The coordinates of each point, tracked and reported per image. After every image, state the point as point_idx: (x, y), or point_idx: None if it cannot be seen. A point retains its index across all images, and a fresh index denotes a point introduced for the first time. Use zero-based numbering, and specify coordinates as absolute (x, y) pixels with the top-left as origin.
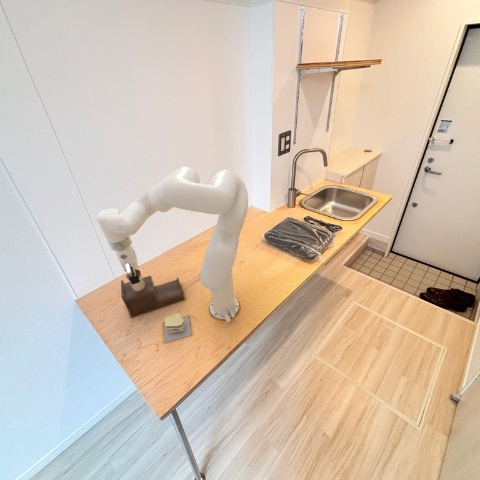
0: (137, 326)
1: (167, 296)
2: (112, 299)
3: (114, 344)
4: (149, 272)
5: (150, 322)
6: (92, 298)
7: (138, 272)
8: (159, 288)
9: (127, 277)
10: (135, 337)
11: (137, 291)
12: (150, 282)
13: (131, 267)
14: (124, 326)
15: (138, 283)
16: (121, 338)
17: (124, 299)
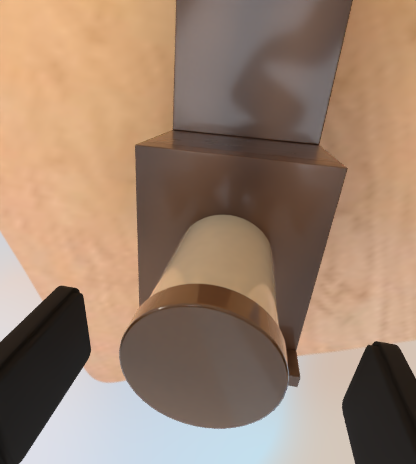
0: (350, 257)
1: (315, 68)
2: (136, 306)
3: (373, 338)
4: (11, 130)
5: (371, 203)
6: (102, 355)
7: (205, 325)
8: (206, 105)
9: (228, 425)
10: (403, 275)
11: None
12: (225, 168)
13: (74, 367)
14: (311, 297)
15: (276, 296)
16: (364, 316)
17: (296, 354)
